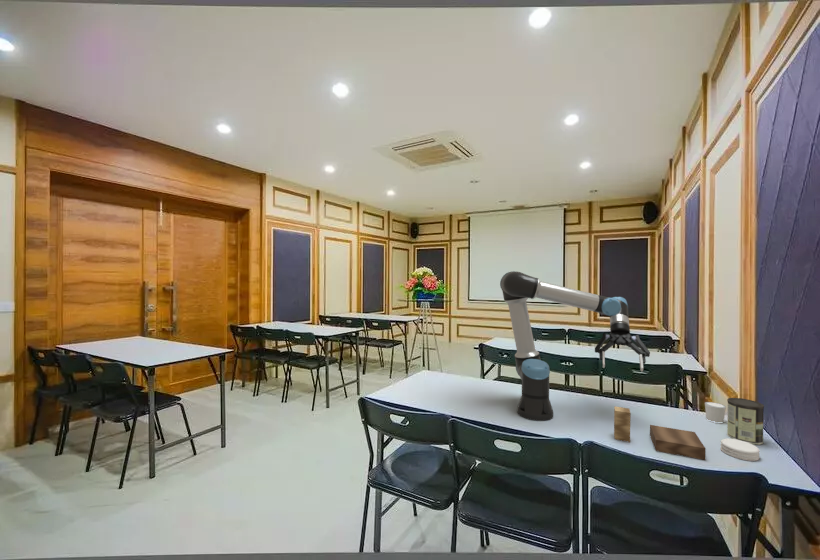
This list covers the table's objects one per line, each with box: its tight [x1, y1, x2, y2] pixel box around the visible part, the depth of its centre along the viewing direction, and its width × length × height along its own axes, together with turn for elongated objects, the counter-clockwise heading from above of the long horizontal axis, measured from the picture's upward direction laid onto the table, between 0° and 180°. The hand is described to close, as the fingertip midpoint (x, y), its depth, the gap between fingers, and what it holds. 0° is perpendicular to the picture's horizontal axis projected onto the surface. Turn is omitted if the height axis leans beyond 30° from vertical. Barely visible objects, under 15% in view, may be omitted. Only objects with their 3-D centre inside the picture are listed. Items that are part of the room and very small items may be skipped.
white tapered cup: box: [704, 401, 727, 422], centre depth 153 cm, size 7×7×7 cm
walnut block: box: [649, 424, 707, 461], centre depth 130 cm, size 14×14×4 cm
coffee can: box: [726, 397, 765, 446], centre depth 137 cm, size 10×10×14 cm
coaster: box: [720, 438, 761, 462], centre depth 125 cm, size 10×10×4 cm
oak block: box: [613, 405, 632, 443], centre depth 137 cm, size 5×5×11 cm
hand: (622, 368), depth 147 cm, fingers open, 13 cm apart
